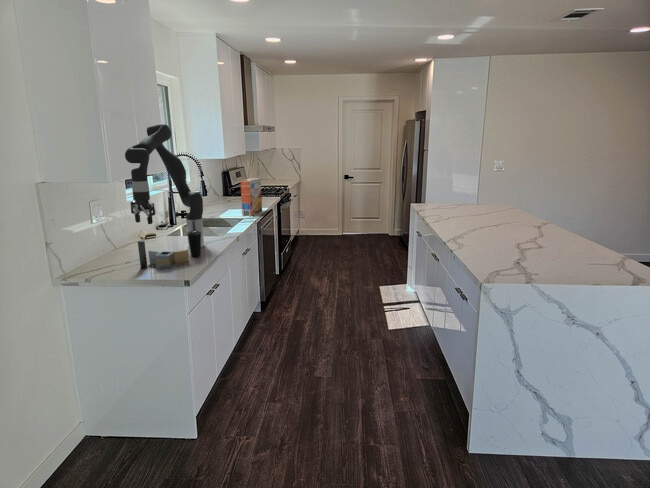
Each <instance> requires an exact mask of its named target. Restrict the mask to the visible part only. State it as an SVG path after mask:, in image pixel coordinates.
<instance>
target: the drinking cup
mask: <svg viewBox="0 0 650 488" xmlns="http://www.w3.org/2000/svg"><path fill="white" fill-rule="evenodd" d="M186 235H187V241H188V240H189V245H190V247H189V250H190V255H191V258H192V259H197V258H200V257H201V253H202V251H201V248H202V247H201V232H199V231H196V230H195V229H194V221H193V231H190V232H188V233H187V232H186Z"/></svg>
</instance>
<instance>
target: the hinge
mask: <svg viewBox="0 0 650 488" xmlns="http://www.w3.org/2000/svg"><path fill="white" fill-rule="evenodd" d="M147 252H148V259H149V260H148V261H149V265H155V266H156V267H155V268H156V269H167V270H169V269H172V268H173V267H174V266H177V265H179V266H180V265H184V264H189V263H190V255H189V249H185V250H184V249H183V250H177V251H167V250H166V251H165V250H163V251H156V250H148V251H147Z"/></svg>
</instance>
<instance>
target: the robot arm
mask: <svg viewBox="0 0 650 488" xmlns="http://www.w3.org/2000/svg"><path fill="white" fill-rule="evenodd" d="M146 135H147V136H146V137H145V138H143V139H142V140H141V141H139V143H138V144H135V145H133V146H130V147H128V148H127V149H126V151H125V154H124V158H125V160H126V162H128V163H129V164H139V166H138V167H136V168H132V169H131V171H130V174H131V189H132V200H133V201H130V213H131V214H133V215H134V219H135V223H140V222H141V215H140V214H141V212H143V213H144V214H146V216H147V217H146V218H147V219H146V221H147V225H152V224H153V222H154V221H153V217H154V216H156V209H155V203H154V202H149V201H150V200H151V195H150V185H149V181H148V167H149V162H150V156H151V154H152V152H153V151H155V150H156V152H157V154H158V156H159V157H160V159H161V161H162V163H163V165H164V167H165V169H166V171H167V173H168V175H169V177H170V178H171V180H172V182H173V184H174V186H175V189H176V190H177V192H178V195H179V198H180V200H181V202H182V204H183V205H184V206H185V207H187V208H189V212H188V213H185V221H186V222H185V223H186V234H187V233H188V232H190V231H193V221H194V229H195V230H196V231H199V232H201V248H203V247H205V239H204V238H205V235H204V225H203V213H204V203H203V202H204V200H203V196H202V194H201V193H200V192H198V191H197V192H196V191H191V189H190V187H189V185H188V183H187V170H186V168H185V165H184V164H183V162H182V160H181V159H180V158H179V157H178V156H176V155H175V153H173V152H171V151H170V150H168V149H167V148H166V146H165V145H164V143H165V142H167V141H169V140H170V139H171V137H172V131H171V128H170V126H168V124H166V123H158V124H153V125H150V126H147V128H146ZM187 245H188V248H190V245H189V240H188V239H187Z"/></svg>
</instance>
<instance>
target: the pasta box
mask: <svg viewBox="0 0 650 488" xmlns="http://www.w3.org/2000/svg"><path fill="white" fill-rule="evenodd" d="M240 194H241V195H240V196H241V198H240V199H241V216H250V217H249V218H252V217H251V216H253V215H255V216H257V215H259V214H261V213H260V212H262V213H263V202H262V201H263V200H262V199H263V197H262V178H261V177H250V178H247V179H246V178H244V179H242V180H240ZM258 213H259V214H258ZM256 214H257V215H256ZM253 217H254V216H253Z"/></svg>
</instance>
